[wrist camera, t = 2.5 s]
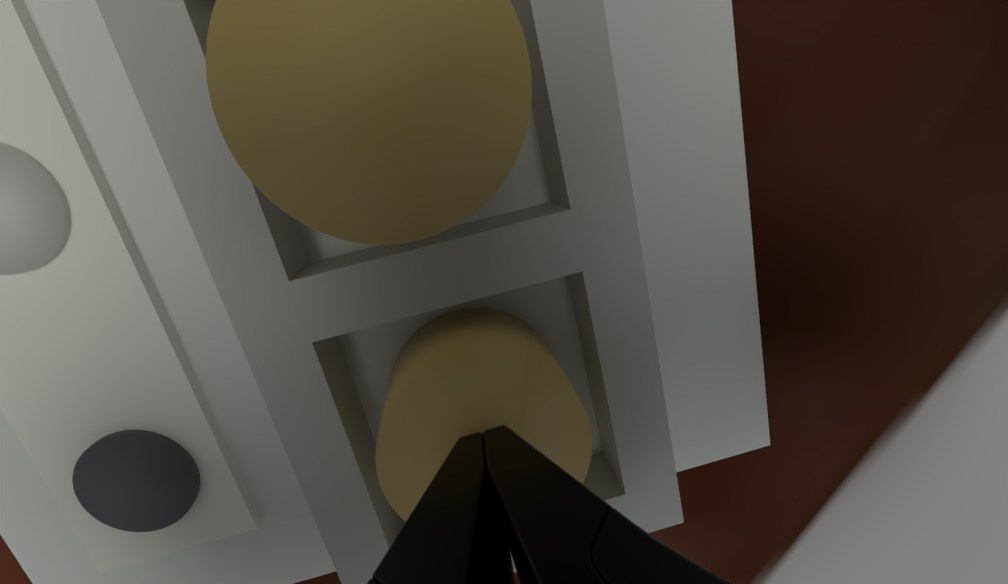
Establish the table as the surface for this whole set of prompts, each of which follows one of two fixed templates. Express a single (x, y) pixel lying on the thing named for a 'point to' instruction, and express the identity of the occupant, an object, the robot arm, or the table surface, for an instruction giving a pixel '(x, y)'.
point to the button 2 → (474, 400)
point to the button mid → (371, 108)
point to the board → (344, 293)
